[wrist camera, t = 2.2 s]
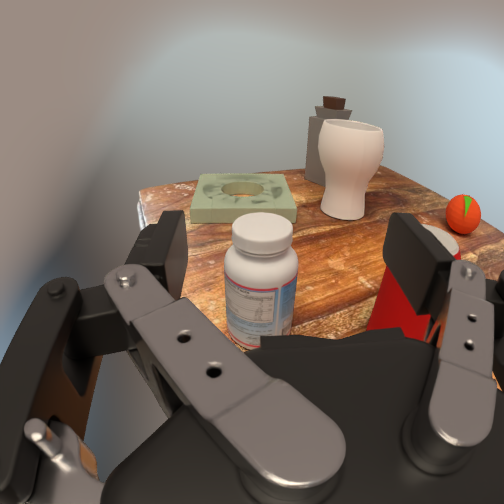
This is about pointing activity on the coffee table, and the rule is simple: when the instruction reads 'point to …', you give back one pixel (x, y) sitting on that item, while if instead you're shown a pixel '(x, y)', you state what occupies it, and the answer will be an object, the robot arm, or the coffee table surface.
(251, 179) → the hole plate
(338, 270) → the coffee table surface
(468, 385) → the robot arm
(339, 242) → the coffee table surface
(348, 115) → the perfume bottle
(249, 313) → the pill bottle
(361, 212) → the cup
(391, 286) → the beverage can
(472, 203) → the clementine
